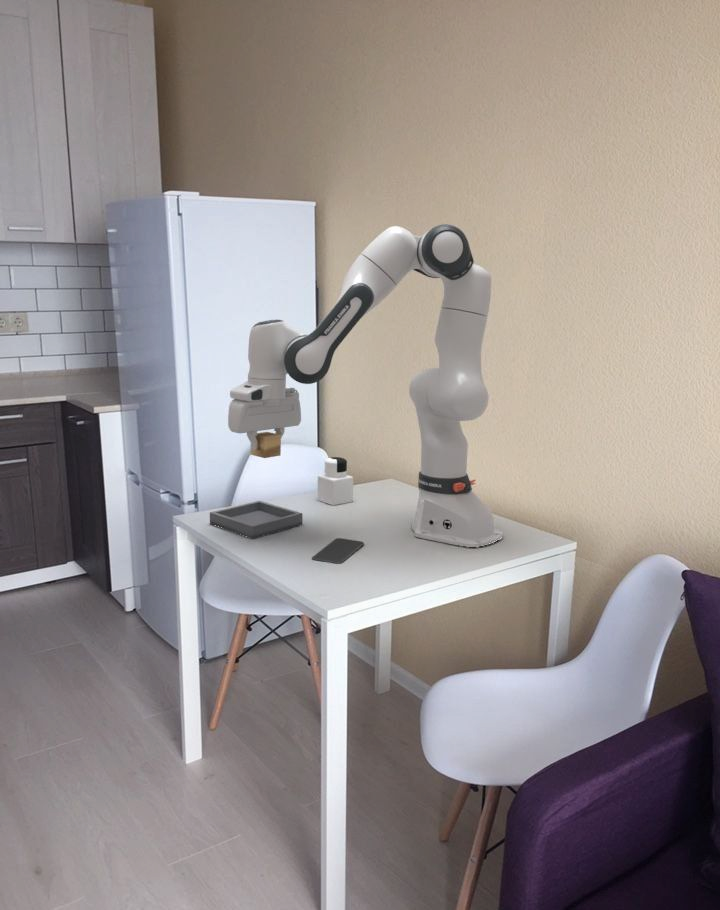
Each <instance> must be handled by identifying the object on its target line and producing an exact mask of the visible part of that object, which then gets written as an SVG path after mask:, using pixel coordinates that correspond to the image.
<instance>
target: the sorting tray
mask: <svg viewBox="0 0 720 910" xmlns="http://www.w3.org/2000/svg"><path fill="white" fill-rule="evenodd" d="M211 524H213V525H212V526H214V525H216V526H215V527H217V526H219V527H222V528H224V529H223V530H225V529H227V530H226V531H228V530H230V531H229V532H231V531H233V532H232V533H234V532H236V533H235V534H237V533H238V534H237V535H240V534H241V535H240V536H242V535H244V536H243V537H245V536H247V537H246V538H248V537H250V538H249V539H251V538H252V540H254V539H258V538H261V537H264V536H263V535H265V536H267V534H269V535H271V533H272V534H276V533H279V532H282V531H286V530H289V529H293V527H294V528H297V527H300V525H301V526H303V512H299V511H296V510H292V509H289V508H286V507H282V506H279V505H275V504H272V503H269V502H265V501H263V500H257V501H256V500H255V501H252V502H247V503H243V504H239V505H235V506H231V507H227V508H223V509H219V510H214V511H211V512H209V525H211ZM219 527H218V528H219ZM222 528H221V529H222ZM275 532H276V533H275ZM260 536H261V537H260ZM257 537H258V538H257ZM253 538H254V539H253Z"/></svg>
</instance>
